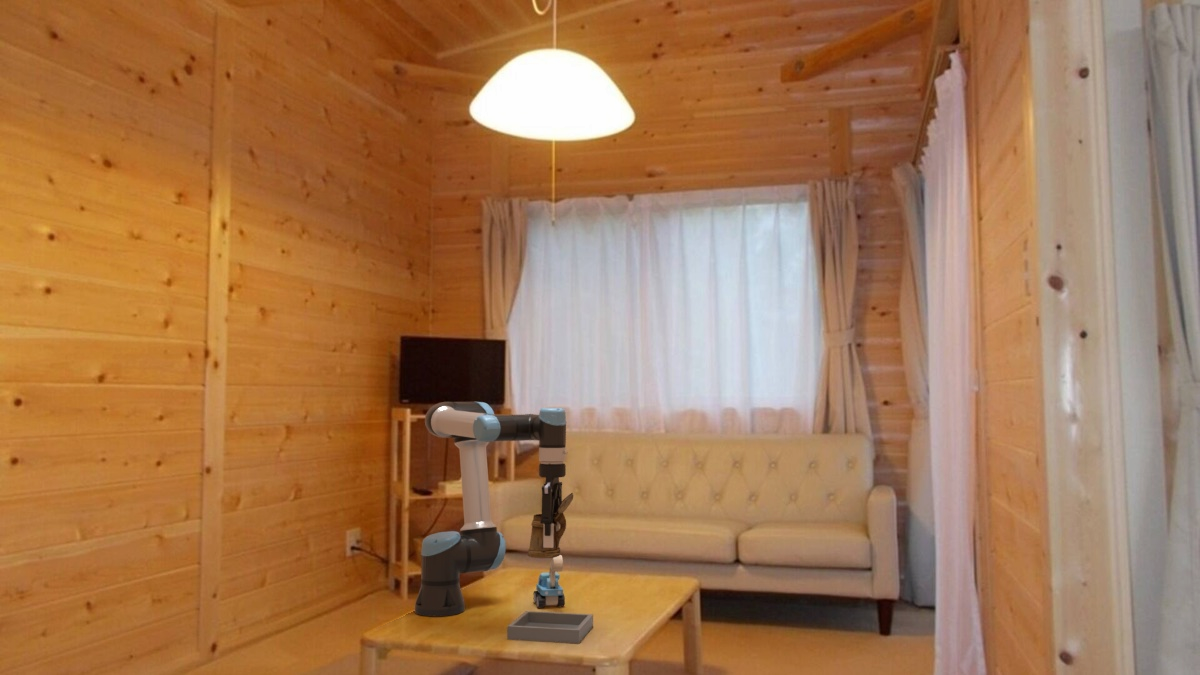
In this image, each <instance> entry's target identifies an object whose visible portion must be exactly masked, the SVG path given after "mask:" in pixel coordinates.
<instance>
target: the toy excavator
mask: <svg viewBox="0 0 1200 675" xmlns="http://www.w3.org/2000/svg"><path fill="white" fill-rule="evenodd" d="M563 569H564V560H563V555H561V554H560V555H559V556H557V557H554V558H551V561H550V564H549V572H541V573H540V574H539V576H538V582H537V584H536V585H535V586H536V589H535V590H534V591H533V597H532V598H533V603H534V604H536V607H537V609H540V608H541V609H543V608H545V607H546V606H547V607H548V606H557V607H559V608H560V607H565V604H566V601H565V599H566V598H565V597H566V596H565V594H564V588H563V587H562V586H561V585H560V584H559V580H560V578H561V577H560V574H559V572H563Z"/></svg>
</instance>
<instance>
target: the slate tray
mask: <svg viewBox="0 0 1200 675" xmlns="http://www.w3.org/2000/svg"><path fill="white" fill-rule="evenodd" d="M592 628H594V614H593V613H591V614H590V613H576V612H575V613H574V612H571V613H570V612H557V611H556V612H553V611H535V610H534V611H532V610H526V611H524V612H523V613H522V614H520V615H519V616H518V617H517V618H515V619H514V620H513V621H512V622H511V623H509V624H508V625H507V626H506V629H507V630H506V635H507V636H506V637H507V638H506V640H510V641H511V640H512V641H513V640H514V641H526V642H527V641H529V642H546V643H559V644H560V643H561V644H578V645H579V644H580V643H581V642H582V641H583V640H584V638H585V637H586V636H587V635H588V634H589V633H590V632H591V630H592Z"/></svg>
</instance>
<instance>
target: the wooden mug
mask: <svg viewBox="0 0 1200 675" xmlns="http://www.w3.org/2000/svg"><path fill="white" fill-rule="evenodd" d="M573 499H574V492H571V493H569V494H568V495H567V496H566V497H565V498H564V499H562V502H561V503H560V505H559V506H558V508H557V513H553V523H552V524H554V546H553V548H543V524H541V523H540V521H541V515H542V513H538V514H534V515H533V520H532V522H531V526H532V527H531V534H530V540H529V542H530V543H529V548H528V552H527V557H529V558H534V559H552V558H554V557H557V556H559V555H561V547H559V546H560V544H559V541H560V542H561V539H562V537H563V536H564V534H565V531H566V529H567V519H566V517H565V514H564V512H565V511H566V510H567V508H568V507H569V506H570V505H571V503H572V501H573ZM557 522H559V524H560V529H559V531H556V526H557Z"/></svg>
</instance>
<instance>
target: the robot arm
mask: <svg viewBox="0 0 1200 675" xmlns="http://www.w3.org/2000/svg"><path fill="white" fill-rule="evenodd" d="M566 415H567V414H566V410H565V409H564V408H561V407H543V408H540V409H539V413H538V414H533V413H524V414H495V411H494V410H493V407H491V406H490V405H489V404H488V403H486V402H483V401H443V402H438V403H436V404H434V405H432V406H431V407H430V408H428V410H427V412H426V413H425V418H424V423H425V427H426V429H427V431H428V432H429V434H431V435H433V436H435V437H437V438H443V439H451V438H452V439H453V442H454V445H455V446H456V448H458V450H459V462H460V465H459V466H460V476H461V493H462V507H463V518H464V519H463V520H464V524H463V526H462V527H461V528H460V530H459V531H455V530H450V531H449V530H448V531H440V532H436V533H432V534H429V535H428V536H427V535H426V537H425V538H423V540H422V543H421V551H420V555H421V556H420V557H421V559H420V560H421V561H420V563H421V564H420V565H421V569H420V570H421V571H420V572H421V573H420V574H421V575H420V576H421V577H420V579H421V580H420V588H419V591H418V593H417V594H418V595H417V597H416V600H415V603H414V613H415V614H417V615H420V616H423V617H424V616H427V617H446V616H447V617H448V616H454V615H458V614H462V613H463V612H465V609H466V606H465V604H466V603H465V599H464V596H463V592H462V589H461V586H460V585H461V584H460V575H463V574H469V573H478V572H488V571H491V570H495V569H497V568H499V567H500V566H501V565H502V563H503V561H504V559H505V556H506V550H507V549H506V547H507V546H506V544H507V543H506V539H505V538H504V535H503V533H502V532H500V531H498V528H497V527H498V526H497V525H496V524H495V523H493V520H492V511H491V496H490V484H489V482H490V481H489V472H488V471H489V470H488V459H487V458H488V457H487V446H488V445H489V443H492V442H517V441H518V442H519V441H521V442H523V441H537V442H538V443H539V445H538V446H539V447H538V462H540V463H539V464H538V476H539V477H541V478H545V481H544V482H545V483H544V484H543V485H542V486H541V514H542V515H541V521H540V523H541V524H543V548H553V546H554V524H552V523H553V513H557V508H558V506H559V505H560V503H561V502H562V501H563V490H562V489H563V482H562V481H560V478H564V477H566V475H567V474H566V470H567V469H566V468H567V466H566V465H567V464H566V463H564V462H566V455H567V454H568V451H567V450H566V443H567V441H566V440H567V439H566V438H567V437H566V436H567V419H566ZM559 529H560V524H559V522H557V526H556V531H559ZM560 544H561V540H560V541H559V545H560Z"/></svg>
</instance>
